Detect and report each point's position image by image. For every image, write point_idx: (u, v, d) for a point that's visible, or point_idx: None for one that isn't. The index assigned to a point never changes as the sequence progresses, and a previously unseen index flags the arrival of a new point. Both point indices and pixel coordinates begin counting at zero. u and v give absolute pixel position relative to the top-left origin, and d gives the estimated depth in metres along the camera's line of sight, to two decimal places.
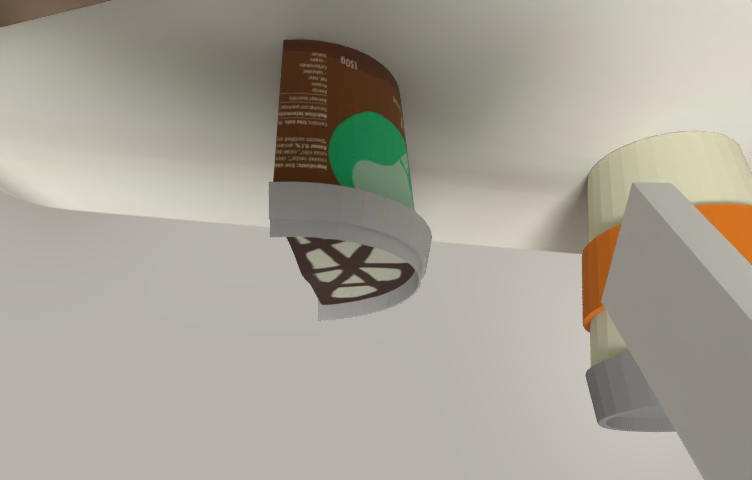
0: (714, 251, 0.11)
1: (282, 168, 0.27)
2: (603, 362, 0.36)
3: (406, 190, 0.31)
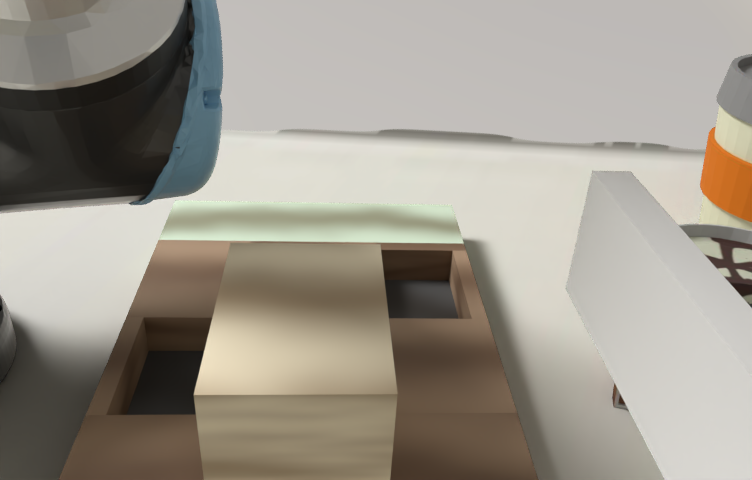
0: (664, 235, 0.11)
1: None
2: None
3: None
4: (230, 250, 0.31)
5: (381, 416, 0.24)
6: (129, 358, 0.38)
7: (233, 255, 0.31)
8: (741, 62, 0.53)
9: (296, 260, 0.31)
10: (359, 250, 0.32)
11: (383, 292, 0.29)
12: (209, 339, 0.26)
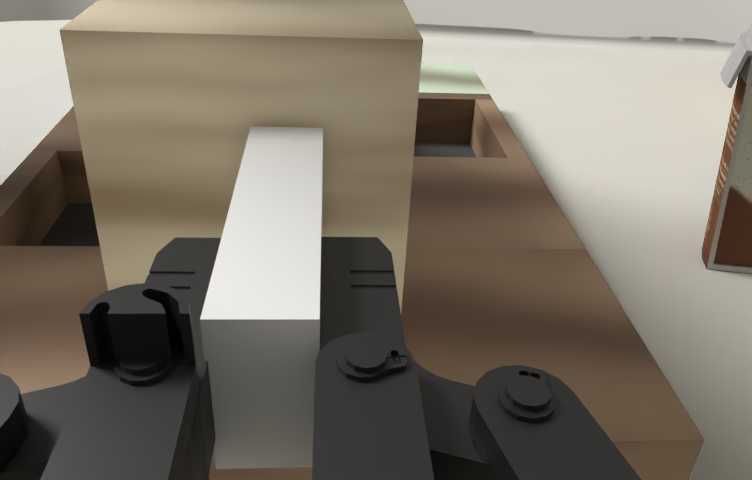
0: (301, 178, 0.12)
1: (737, 111, 0.26)
2: None
3: None
4: None
5: (394, 91, 0.14)
6: (28, 190, 0.27)
7: None
8: None
9: None
10: None
11: None
12: None
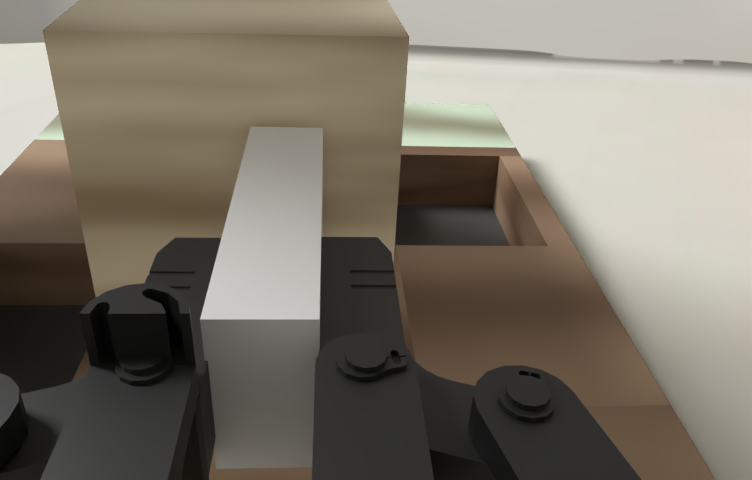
0: (301, 178, 0.12)
1: None
2: None
3: None
4: None
5: (381, 88, 0.14)
6: None
7: None
8: None
9: None
10: None
11: None
12: None
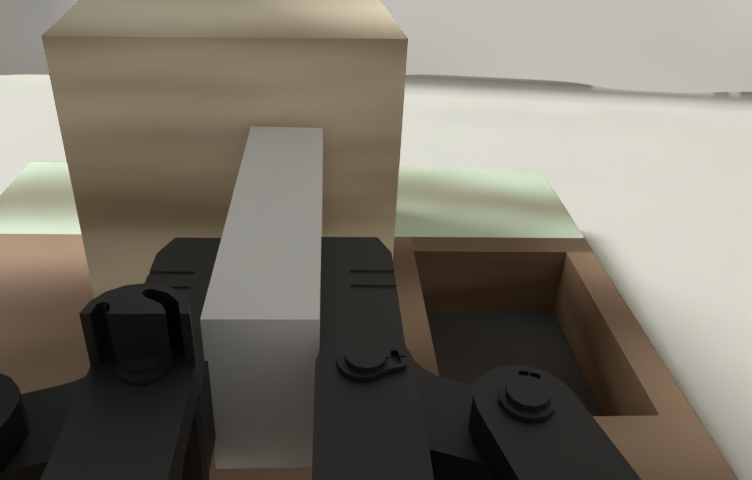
0: (301, 178, 0.12)
1: None
2: None
3: None
4: None
5: (380, 90, 0.14)
6: None
7: None
8: None
9: None
10: None
11: None
12: (81, 2, 0.15)
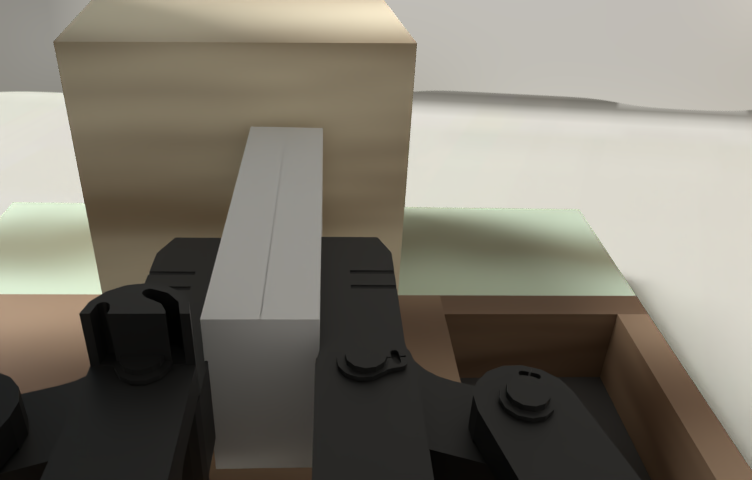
0: (301, 178, 0.12)
1: None
2: None
3: None
4: None
5: (388, 94, 0.14)
6: None
7: None
8: None
9: None
10: None
11: None
12: (89, 6, 0.15)
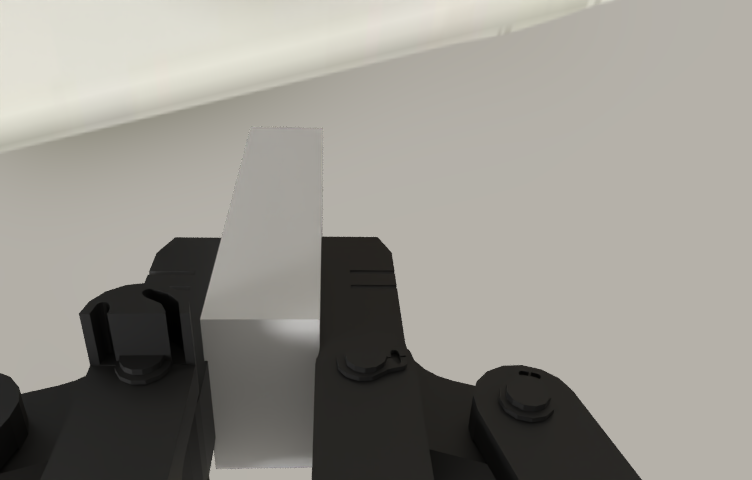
0: (300, 178, 0.12)
1: None
2: None
3: None
4: None
5: None
6: None
7: None
8: None
9: None
10: None
11: None
12: None
